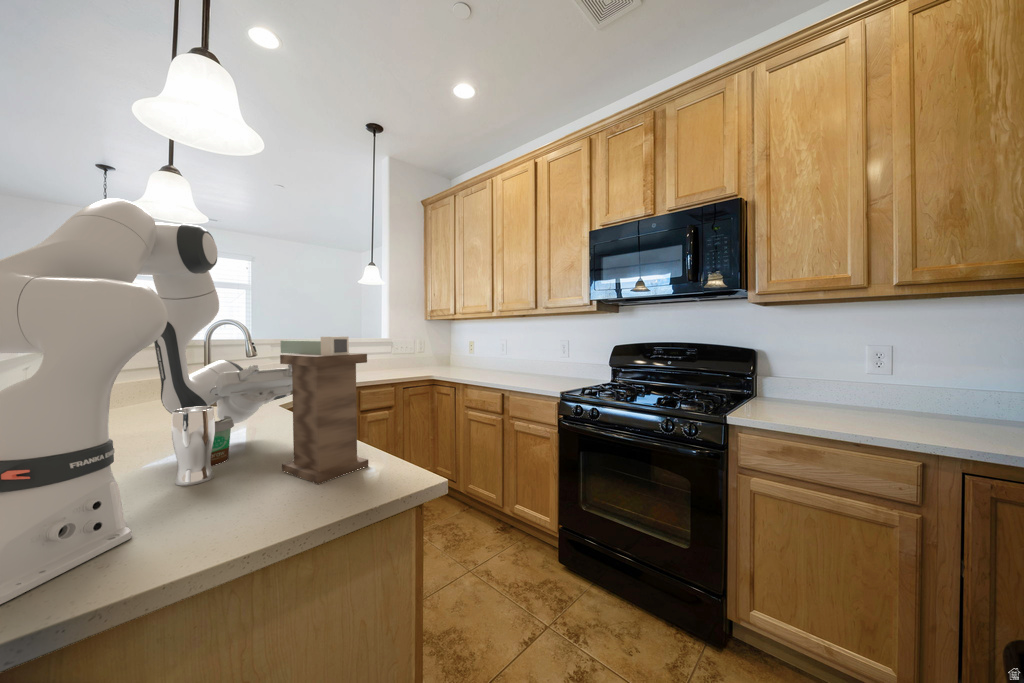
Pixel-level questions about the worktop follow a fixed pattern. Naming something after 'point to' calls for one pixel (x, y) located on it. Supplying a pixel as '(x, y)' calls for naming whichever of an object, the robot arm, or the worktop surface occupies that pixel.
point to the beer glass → (193, 443)
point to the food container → (221, 440)
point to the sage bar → (317, 346)
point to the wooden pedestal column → (324, 415)
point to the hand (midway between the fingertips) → (275, 366)
